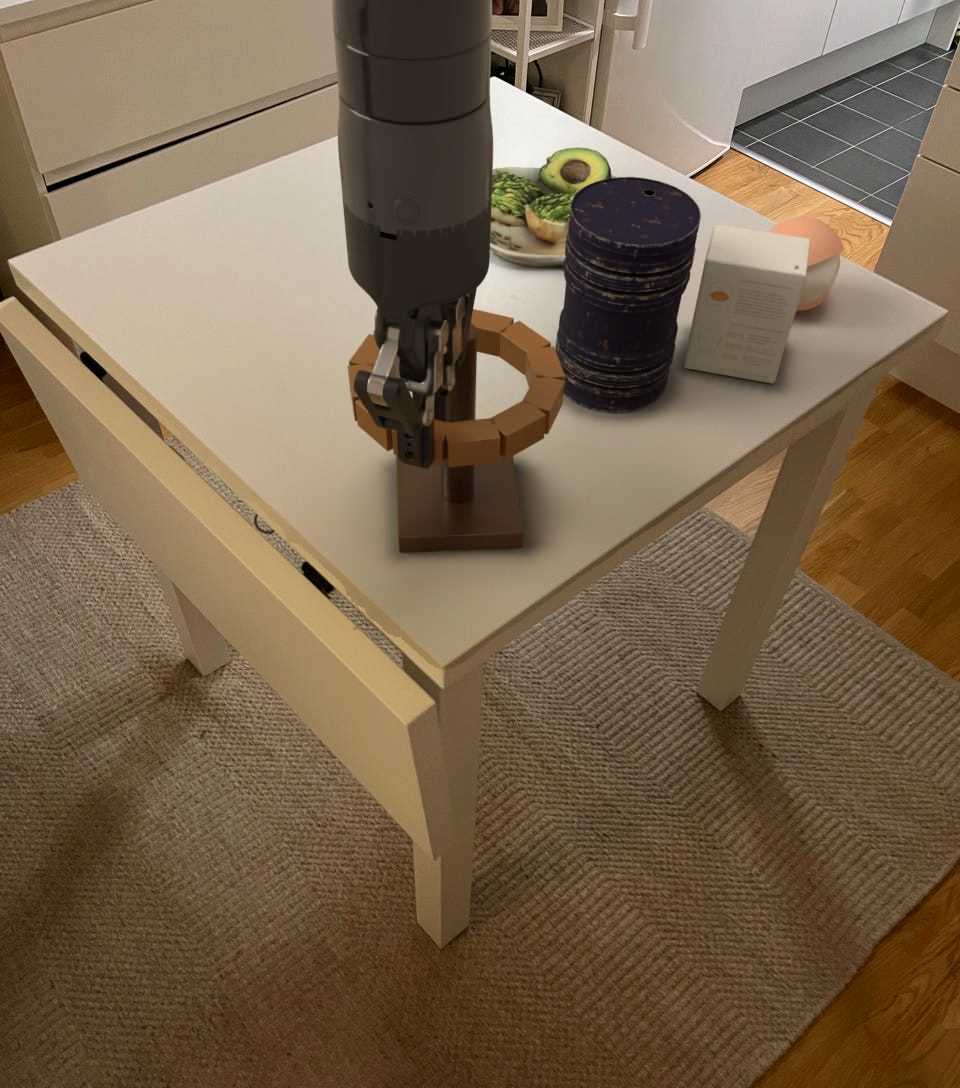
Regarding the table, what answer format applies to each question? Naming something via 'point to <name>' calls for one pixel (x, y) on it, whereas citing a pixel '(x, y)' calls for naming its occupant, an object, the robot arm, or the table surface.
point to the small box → (746, 302)
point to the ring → (500, 431)
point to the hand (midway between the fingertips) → (423, 448)
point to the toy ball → (815, 257)
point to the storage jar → (624, 290)
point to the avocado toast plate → (540, 205)
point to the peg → (459, 489)
